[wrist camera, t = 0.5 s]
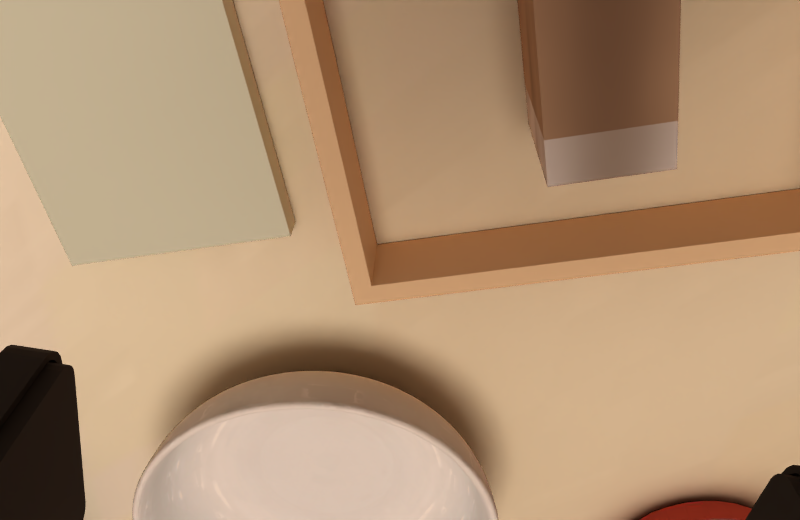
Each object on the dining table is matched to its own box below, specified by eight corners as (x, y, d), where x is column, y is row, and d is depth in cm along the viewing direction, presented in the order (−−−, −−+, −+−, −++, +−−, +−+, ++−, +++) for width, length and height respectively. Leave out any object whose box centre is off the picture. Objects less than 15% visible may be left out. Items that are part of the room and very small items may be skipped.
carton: (911, -358, 25) (1237, -478, 15) (830, 202, 36) (985, 352, 26) (249, -214, 28) (143, -232, 18) (362, 262, 39) (337, 419, 29)
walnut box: (633, -101, 30) (682, -81, 24) (634, 107, 34) (676, 169, 28) (510, -79, 30) (528, -53, 24) (528, 123, 35) (547, 187, 29)
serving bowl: (455, 572, 53) (458, 666, 47) (169, 532, 52) (135, 623, 46) (528, 354, 42) (543, 440, 36) (169, 297, 41) (125, 377, 35)
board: (200, -114, 30) (189, -111, 29) (295, 222, 38) (290, 236, 37) (-62, -61, 32) (-83, -56, 30) (83, 251, 40) (72, 265, 38)
